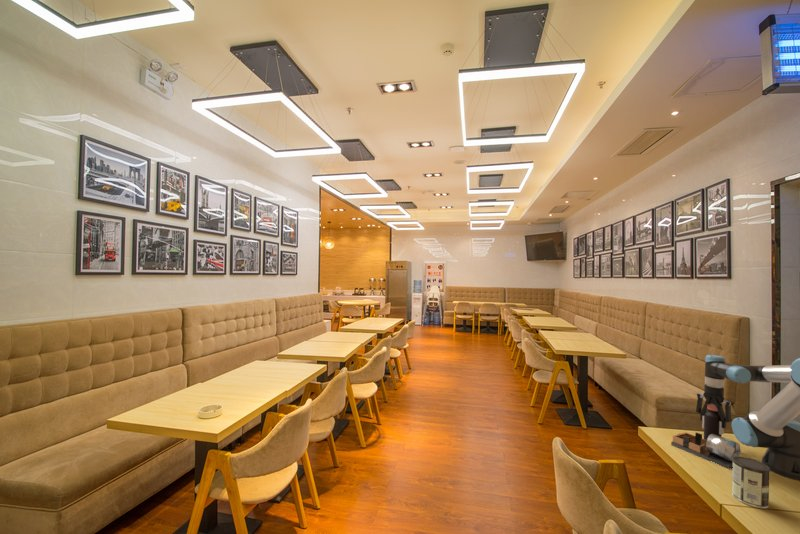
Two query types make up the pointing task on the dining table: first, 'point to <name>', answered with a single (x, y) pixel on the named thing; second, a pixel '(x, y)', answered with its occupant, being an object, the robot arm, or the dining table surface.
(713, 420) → the vinegar
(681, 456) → the dining table surface
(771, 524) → the dining table surface
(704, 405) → the robot arm
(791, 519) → the dining table surface
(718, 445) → the motor mount
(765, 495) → the coffee can
